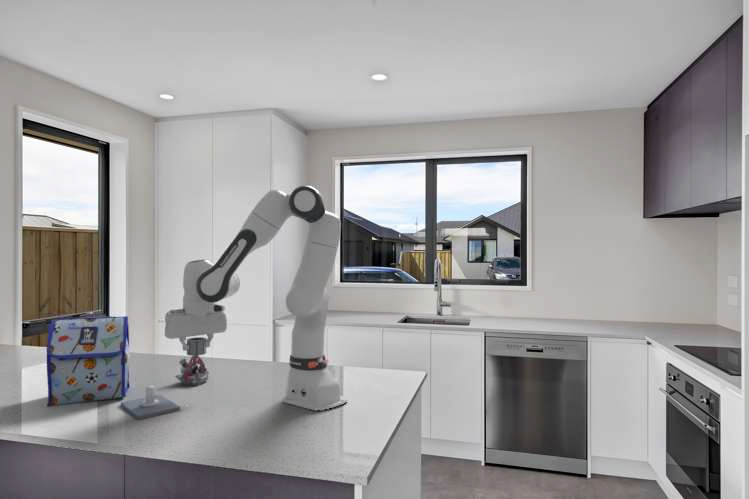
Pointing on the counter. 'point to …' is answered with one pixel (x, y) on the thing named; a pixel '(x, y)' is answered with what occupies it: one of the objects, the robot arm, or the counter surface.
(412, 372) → the counter surface
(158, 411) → the post block
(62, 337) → the lunch bag
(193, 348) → the hub ring
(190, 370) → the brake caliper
